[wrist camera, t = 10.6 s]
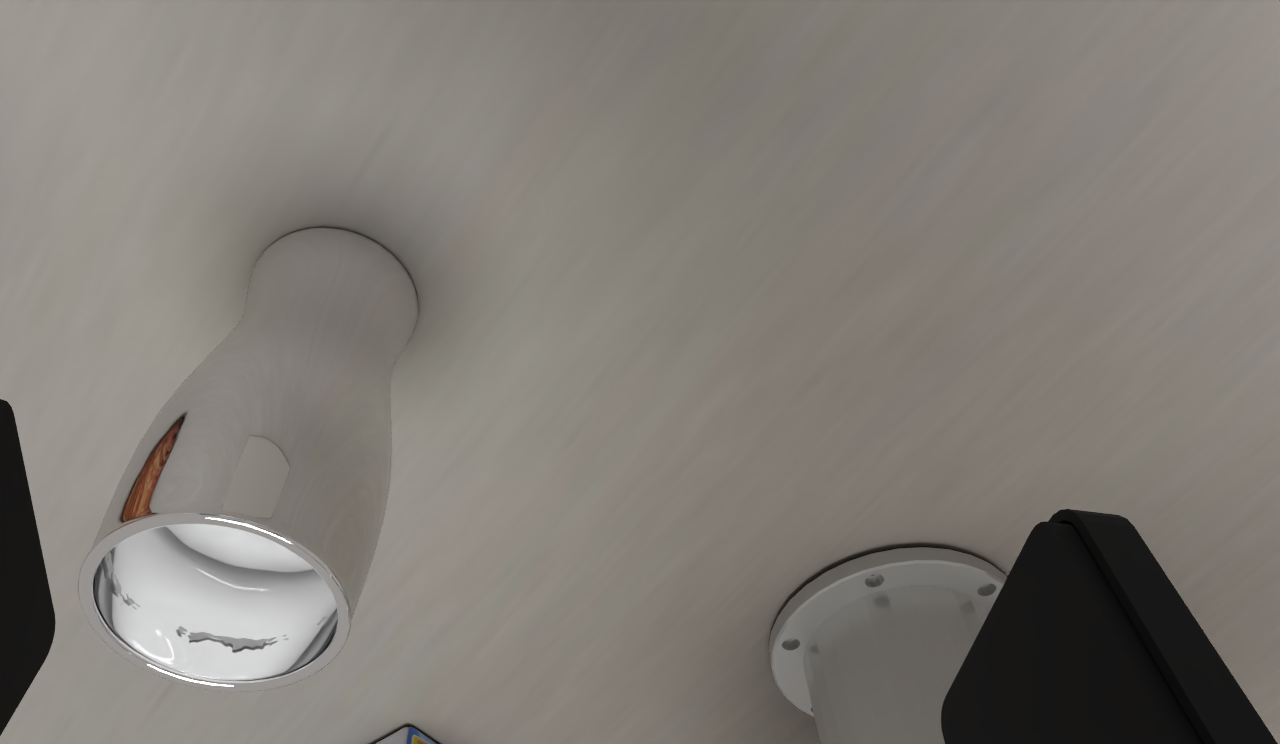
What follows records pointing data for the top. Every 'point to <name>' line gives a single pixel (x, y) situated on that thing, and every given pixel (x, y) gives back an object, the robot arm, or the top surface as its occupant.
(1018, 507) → the top surface
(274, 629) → the beer glass
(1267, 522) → the top surface
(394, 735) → the ink cartridge box
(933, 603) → the robot arm
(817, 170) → the top surface
